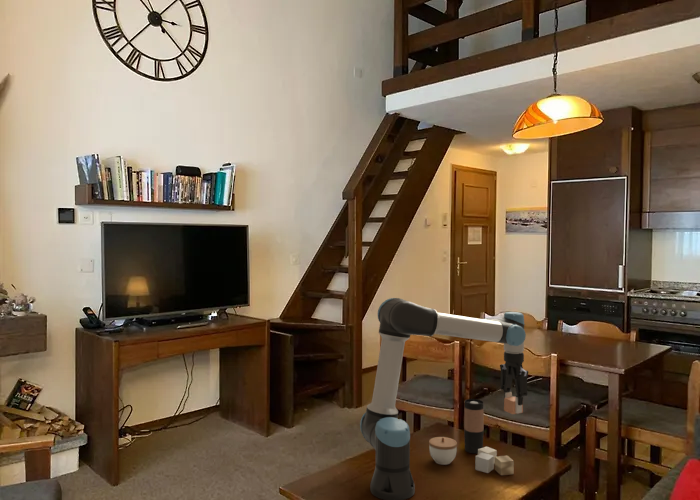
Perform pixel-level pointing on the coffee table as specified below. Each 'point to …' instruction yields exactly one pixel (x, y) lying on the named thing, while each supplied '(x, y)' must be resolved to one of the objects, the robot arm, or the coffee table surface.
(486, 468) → the cube grey
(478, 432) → the travel mug
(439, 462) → the lidded jar
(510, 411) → the cube terracotta
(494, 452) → the cube cream
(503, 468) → the cube maple
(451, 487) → the coffee table surface
